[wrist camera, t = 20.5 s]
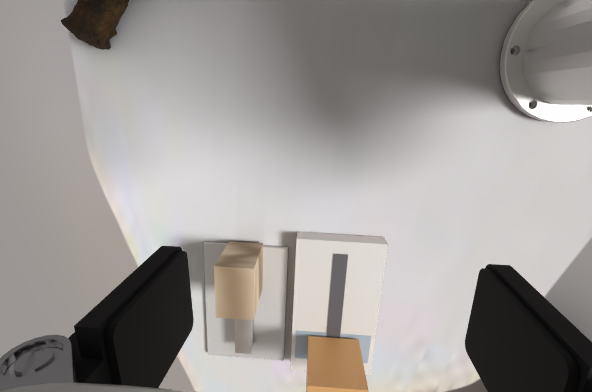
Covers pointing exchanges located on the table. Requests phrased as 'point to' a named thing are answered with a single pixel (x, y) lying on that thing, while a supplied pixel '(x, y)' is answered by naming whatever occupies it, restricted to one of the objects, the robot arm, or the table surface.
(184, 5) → the table surface
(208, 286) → the tool mat
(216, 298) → the tan block on stem
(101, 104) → the table surface
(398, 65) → the table surface
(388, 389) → the table surface
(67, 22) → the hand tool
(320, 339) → the slide tab
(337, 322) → the switch housing
